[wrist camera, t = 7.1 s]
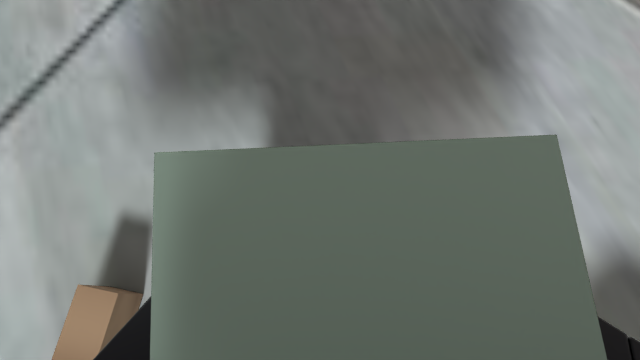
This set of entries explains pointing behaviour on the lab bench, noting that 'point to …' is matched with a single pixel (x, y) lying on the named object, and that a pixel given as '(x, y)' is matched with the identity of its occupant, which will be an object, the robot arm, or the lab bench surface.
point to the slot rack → (94, 320)
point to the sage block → (370, 254)
